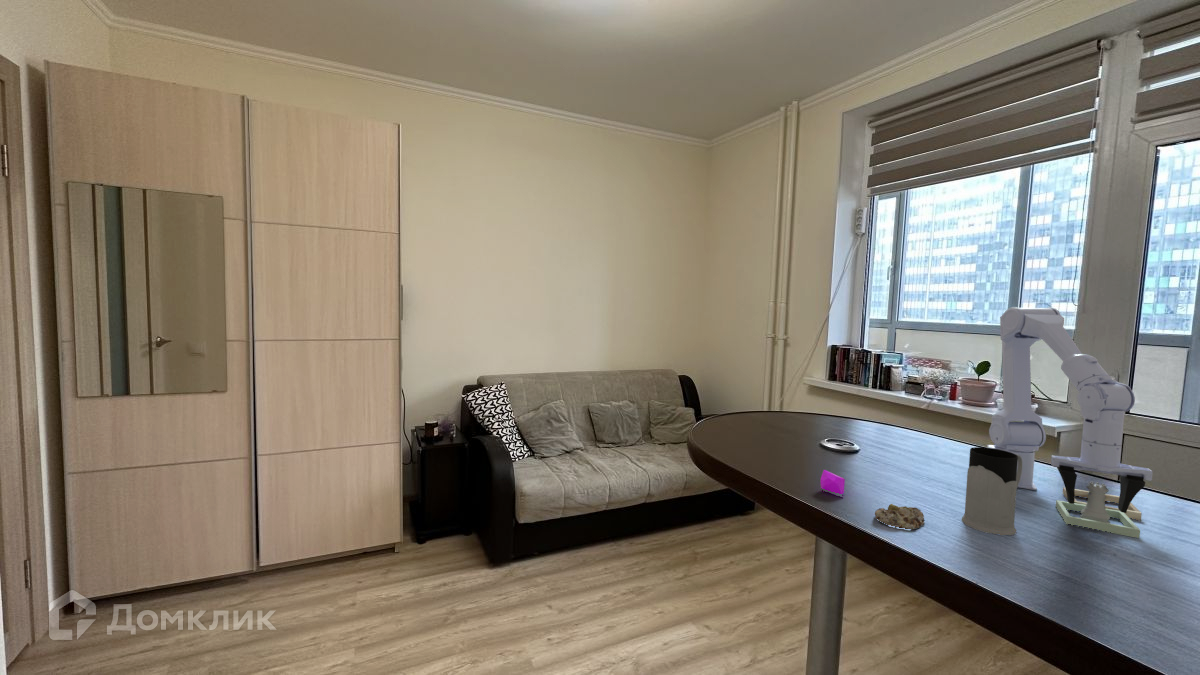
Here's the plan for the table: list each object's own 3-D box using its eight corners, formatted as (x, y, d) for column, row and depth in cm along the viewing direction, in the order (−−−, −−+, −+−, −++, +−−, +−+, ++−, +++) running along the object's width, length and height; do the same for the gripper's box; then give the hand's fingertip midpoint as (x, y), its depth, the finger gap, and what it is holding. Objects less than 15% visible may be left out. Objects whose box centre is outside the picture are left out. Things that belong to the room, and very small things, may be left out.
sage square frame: (1066, 524, 101) (1066, 516, 100) (1055, 506, 109) (1056, 499, 109) (1139, 538, 95) (1140, 530, 95) (1122, 518, 103) (1122, 511, 103)
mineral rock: (898, 524, 95) (868, 497, 102) (891, 542, 96) (862, 515, 104) (942, 520, 98) (909, 494, 105) (935, 538, 99) (903, 511, 106)
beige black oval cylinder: (951, 520, 102) (956, 448, 101) (993, 509, 107) (998, 441, 106) (1000, 538, 94) (1005, 461, 93) (1042, 526, 99) (1047, 453, 98)
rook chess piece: (1116, 527, 99) (1119, 488, 99) (1090, 525, 100) (1093, 486, 100) (1098, 518, 104) (1101, 480, 103) (1073, 516, 105) (1076, 479, 104)
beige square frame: (1072, 508, 108) (1073, 501, 108) (1062, 493, 117) (1063, 487, 117) (1141, 520, 103) (1141, 513, 102) (1124, 504, 111) (1125, 497, 111)
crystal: (818, 494, 115) (819, 474, 115) (823, 487, 120) (824, 468, 119) (843, 499, 112) (844, 479, 112) (846, 492, 117) (847, 473, 116)
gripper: (1057, 440, 102) (1052, 504, 102) (1160, 452, 93) (1154, 522, 94) (1050, 432, 107) (1046, 493, 108) (1147, 444, 99) (1141, 509, 100)
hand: (1095, 506), depth 102 cm, fingers open, 7 cm apart
